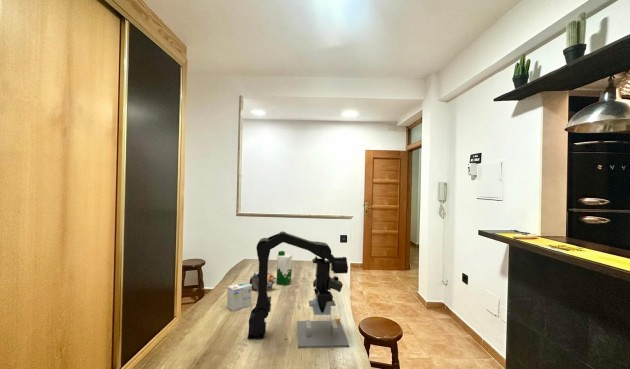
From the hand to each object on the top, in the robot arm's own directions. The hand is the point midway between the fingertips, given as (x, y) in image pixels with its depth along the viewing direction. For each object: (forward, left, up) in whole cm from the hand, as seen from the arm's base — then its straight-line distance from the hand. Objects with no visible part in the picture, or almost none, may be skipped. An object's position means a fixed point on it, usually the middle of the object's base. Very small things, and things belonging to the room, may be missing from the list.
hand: (321, 309), depth 119 cm
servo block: (0, 0, -1) cm, 1 cm away
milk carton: (-17, +61, -10) cm, 65 cm away
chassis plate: (0, -1, -10) cm, 10 cm away
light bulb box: (-39, +27, -10) cm, 49 cm away
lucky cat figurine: (-29, +52, -10) cm, 61 cm away
